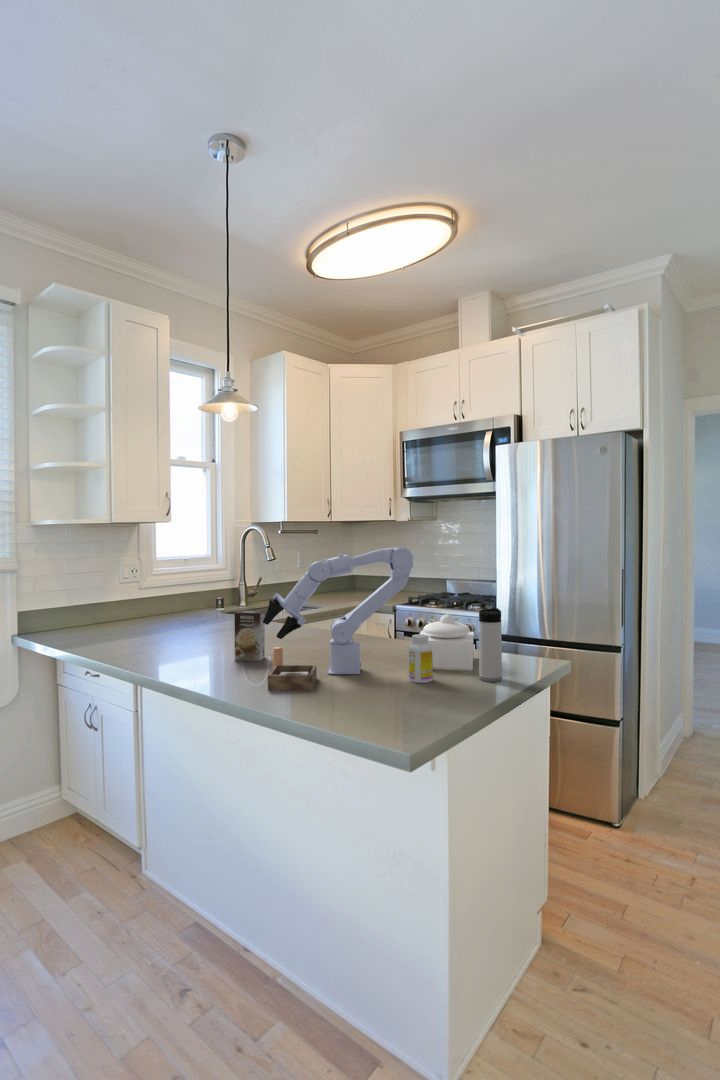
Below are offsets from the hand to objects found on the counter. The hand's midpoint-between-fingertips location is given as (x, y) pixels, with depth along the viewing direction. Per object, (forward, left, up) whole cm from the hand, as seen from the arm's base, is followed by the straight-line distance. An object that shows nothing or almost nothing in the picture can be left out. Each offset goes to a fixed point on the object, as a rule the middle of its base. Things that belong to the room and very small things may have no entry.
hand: (271, 630), depth 174 cm
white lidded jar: (-54, -13, -14) cm, 57 cm away
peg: (-2, +1, -13) cm, 13 cm away
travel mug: (-64, +8, -13) cm, 66 cm away
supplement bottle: (-44, +9, -13) cm, 47 cm away
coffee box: (+11, -20, -13) cm, 27 cm away
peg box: (-8, +12, -13) cm, 19 cm away
